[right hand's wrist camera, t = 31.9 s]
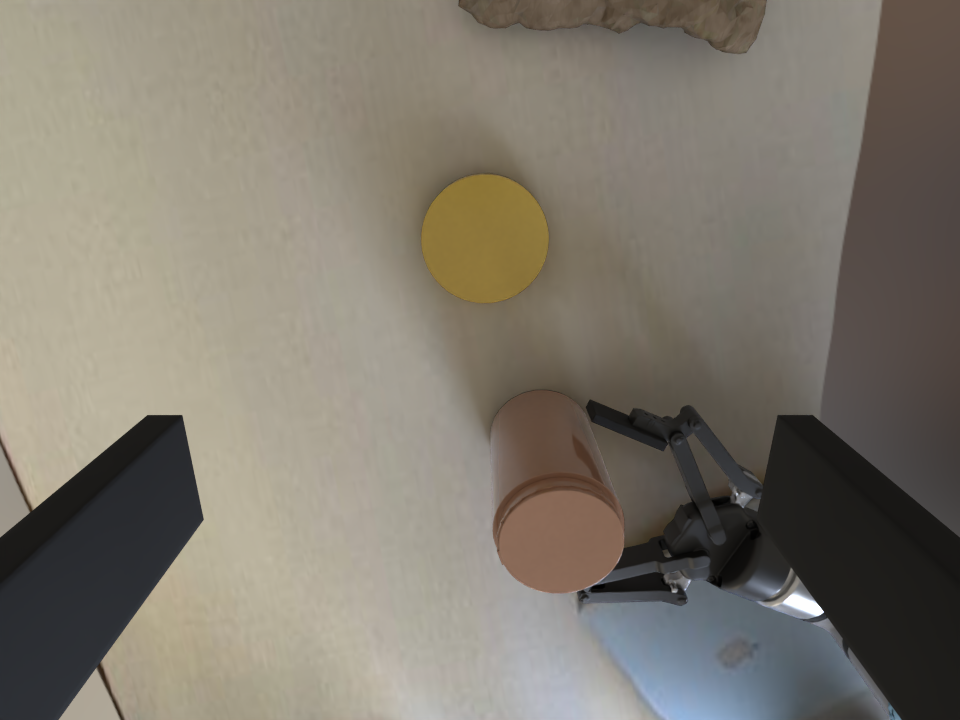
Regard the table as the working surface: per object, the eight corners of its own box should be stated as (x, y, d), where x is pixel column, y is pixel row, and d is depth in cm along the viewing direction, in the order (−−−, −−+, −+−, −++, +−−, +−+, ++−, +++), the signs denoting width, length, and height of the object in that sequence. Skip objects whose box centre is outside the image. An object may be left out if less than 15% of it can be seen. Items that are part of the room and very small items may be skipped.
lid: (419, 291, 50) (417, 297, 48) (427, 166, 46) (425, 167, 44) (537, 303, 50) (539, 308, 48) (554, 180, 46) (557, 181, 45)
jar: (576, 377, 52) (613, 469, 38) (600, 464, 56) (642, 580, 41) (477, 405, 53) (475, 505, 39) (506, 489, 57) (514, 610, 42)
